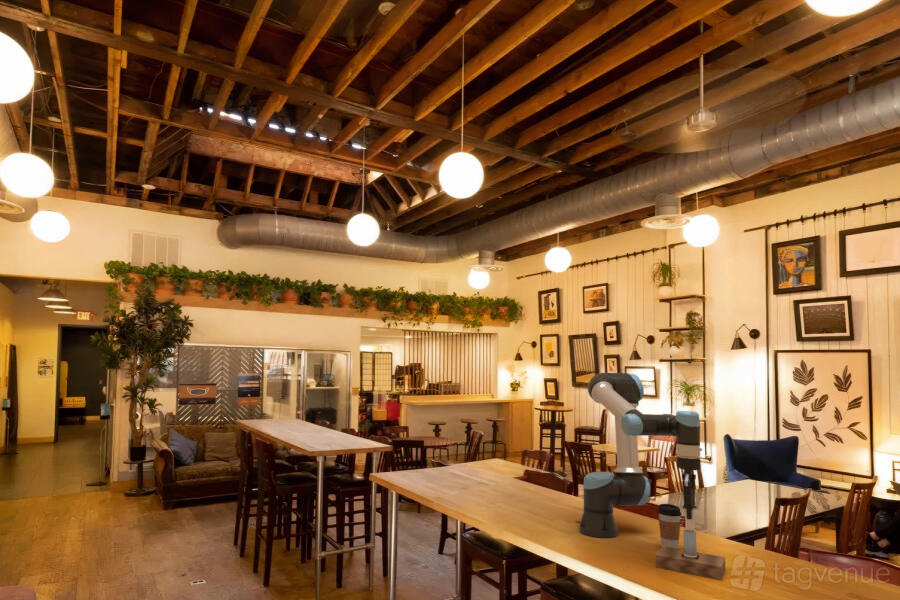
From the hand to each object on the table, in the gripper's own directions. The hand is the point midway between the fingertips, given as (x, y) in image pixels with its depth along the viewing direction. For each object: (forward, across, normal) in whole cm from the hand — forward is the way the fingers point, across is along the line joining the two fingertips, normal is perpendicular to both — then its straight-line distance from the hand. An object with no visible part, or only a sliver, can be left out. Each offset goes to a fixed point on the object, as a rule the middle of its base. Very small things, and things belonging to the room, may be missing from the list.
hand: (690, 528), depth 190 cm
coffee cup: (+13, +20, +10) cm, 26 cm away
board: (+13, 0, 0) cm, 13 cm away
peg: (+13, 0, 0) cm, 13 cm away
